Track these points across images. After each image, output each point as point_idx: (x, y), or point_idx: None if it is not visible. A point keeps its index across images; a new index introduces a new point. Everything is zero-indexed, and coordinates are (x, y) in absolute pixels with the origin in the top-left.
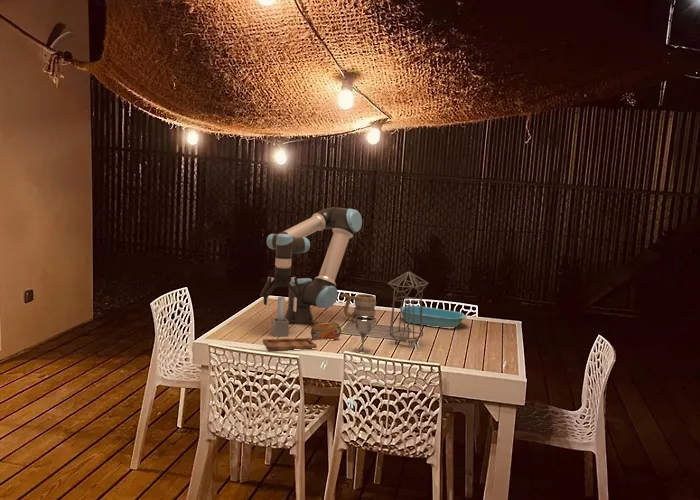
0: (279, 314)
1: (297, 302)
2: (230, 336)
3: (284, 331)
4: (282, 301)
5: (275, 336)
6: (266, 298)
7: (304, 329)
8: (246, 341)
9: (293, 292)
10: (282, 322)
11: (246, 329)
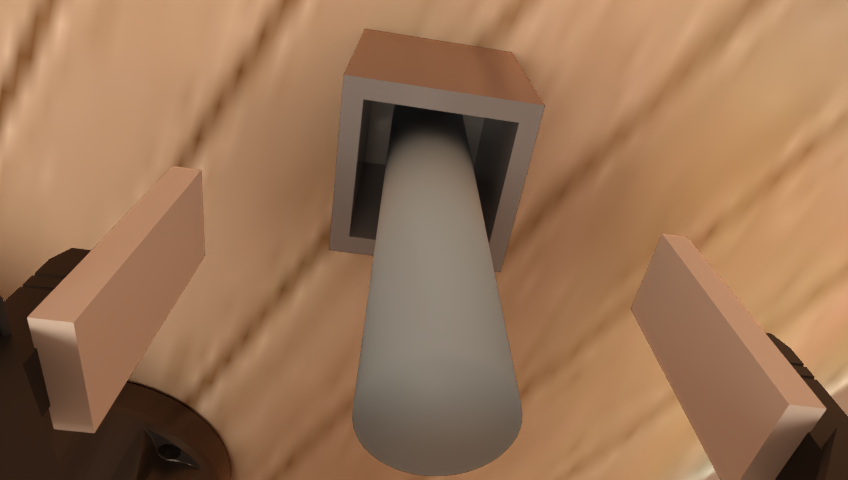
0: (468, 189)
1: (68, 271)
2: (845, 227)
3: (406, 52)
4: (442, 303)
5: (503, 56)
6: (817, 426)
7: None
8: (839, 21)
9: (48, 471)
10: (439, 85)
11: (593, 376)
